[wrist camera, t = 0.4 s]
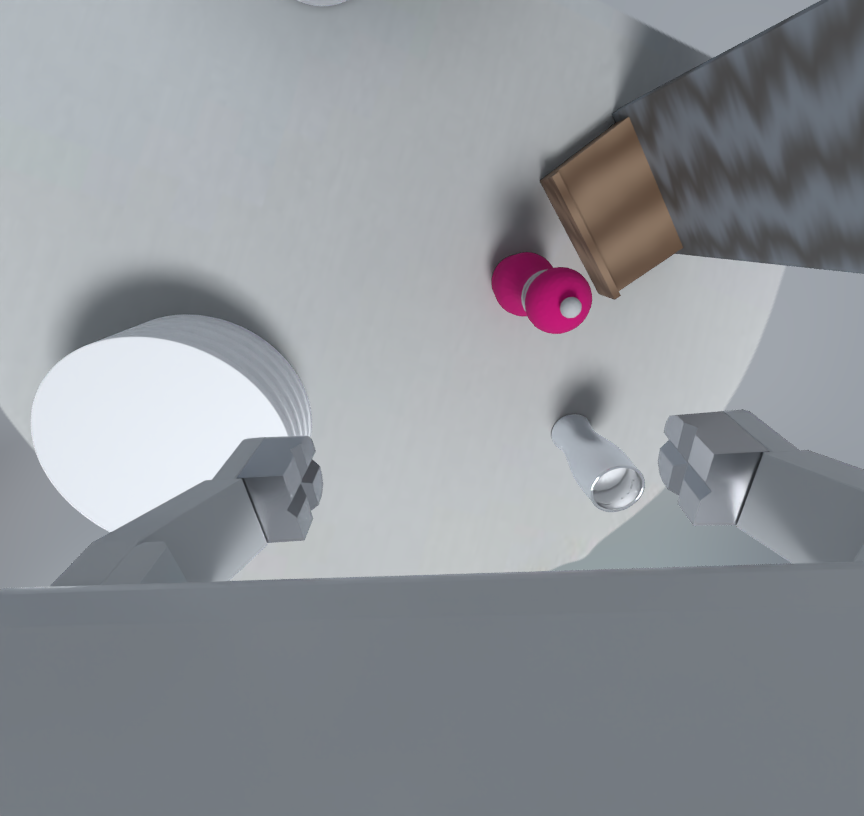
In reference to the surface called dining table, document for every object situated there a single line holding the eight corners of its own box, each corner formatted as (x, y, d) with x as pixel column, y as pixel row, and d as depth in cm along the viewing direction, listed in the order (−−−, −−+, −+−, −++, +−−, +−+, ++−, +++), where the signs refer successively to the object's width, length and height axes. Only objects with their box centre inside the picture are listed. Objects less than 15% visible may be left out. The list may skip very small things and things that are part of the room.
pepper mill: (554, 276, 53) (634, 303, 35) (515, 320, 55) (571, 367, 37) (515, 237, 51) (577, 244, 33) (475, 284, 53) (514, 315, 35)
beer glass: (566, 403, 61) (614, 454, 47) (602, 423, 63) (659, 479, 49) (538, 440, 63) (576, 500, 49) (574, 458, 65) (621, 521, 51)
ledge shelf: (535, 172, 49) (683, 115, 23) (621, 106, 47) (890, -37, 21) (602, 300, 55) (775, 365, 30) (680, 247, 53) (939, 268, 27)
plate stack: (262, 287, 52) (227, 303, 41) (340, 471, 63) (328, 520, 53) (54, 347, 53) (-31, 378, 43) (167, 517, 65) (122, 574, 54)
